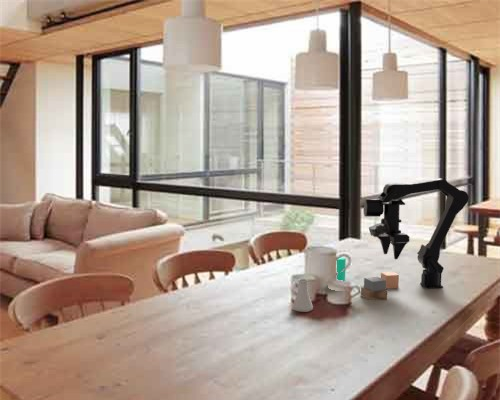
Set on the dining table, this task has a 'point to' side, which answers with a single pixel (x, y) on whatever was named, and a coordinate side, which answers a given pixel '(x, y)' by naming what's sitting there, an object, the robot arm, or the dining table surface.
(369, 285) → the tower middle
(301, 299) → the flask
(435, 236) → the robot arm
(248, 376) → the dining table surface
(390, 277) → the terracotta cube
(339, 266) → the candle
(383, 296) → the tower base
